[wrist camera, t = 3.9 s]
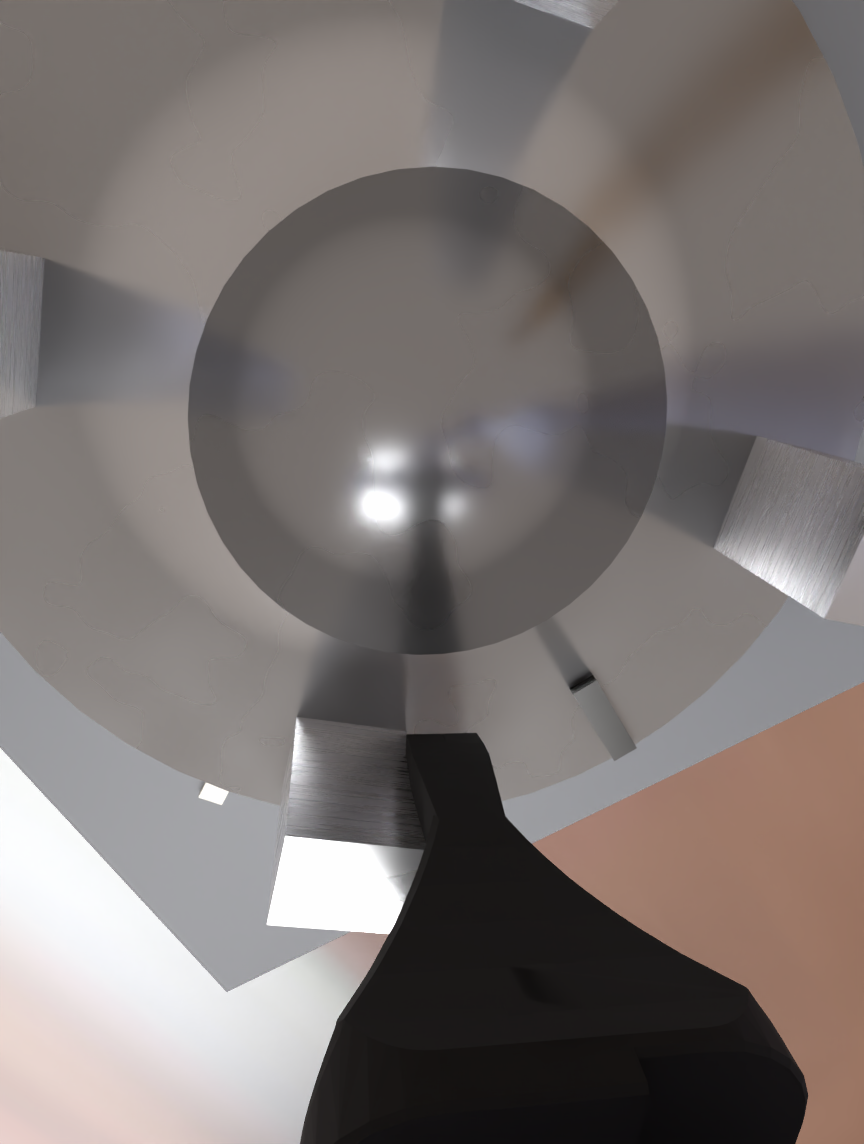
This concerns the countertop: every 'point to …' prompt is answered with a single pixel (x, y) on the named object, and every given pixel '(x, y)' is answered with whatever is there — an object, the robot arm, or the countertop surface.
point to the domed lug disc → (417, 385)
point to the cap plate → (706, 727)
